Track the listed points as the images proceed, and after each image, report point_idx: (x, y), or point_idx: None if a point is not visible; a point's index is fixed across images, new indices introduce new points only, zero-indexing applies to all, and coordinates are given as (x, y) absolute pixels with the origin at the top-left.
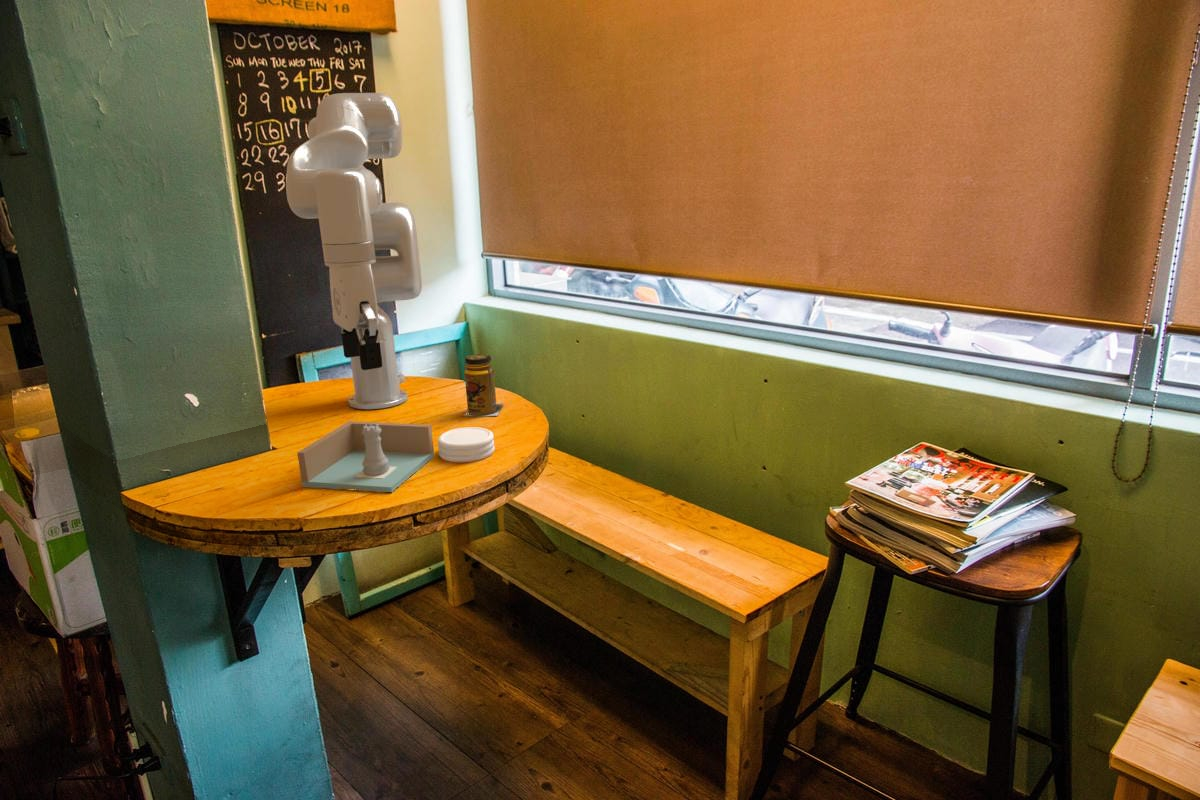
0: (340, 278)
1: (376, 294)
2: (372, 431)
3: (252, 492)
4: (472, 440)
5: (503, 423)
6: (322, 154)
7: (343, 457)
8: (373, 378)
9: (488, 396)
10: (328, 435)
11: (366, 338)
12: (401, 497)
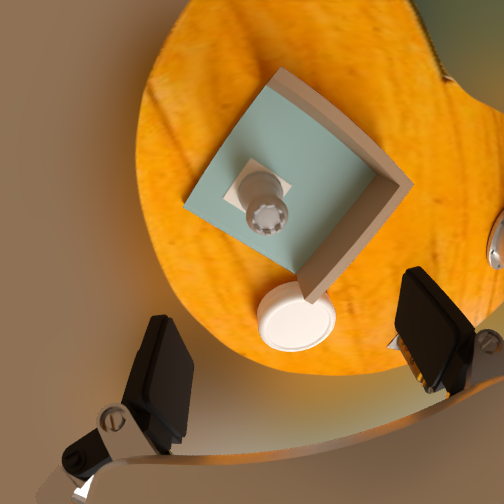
0: None
1: None
2: (249, 218)
3: (284, 15)
4: (275, 331)
5: (362, 350)
6: None
7: (352, 151)
8: None
9: (405, 356)
10: (357, 134)
11: (85, 438)
12: (164, 215)
